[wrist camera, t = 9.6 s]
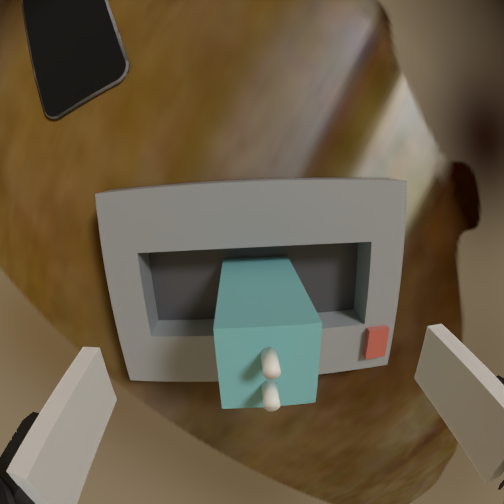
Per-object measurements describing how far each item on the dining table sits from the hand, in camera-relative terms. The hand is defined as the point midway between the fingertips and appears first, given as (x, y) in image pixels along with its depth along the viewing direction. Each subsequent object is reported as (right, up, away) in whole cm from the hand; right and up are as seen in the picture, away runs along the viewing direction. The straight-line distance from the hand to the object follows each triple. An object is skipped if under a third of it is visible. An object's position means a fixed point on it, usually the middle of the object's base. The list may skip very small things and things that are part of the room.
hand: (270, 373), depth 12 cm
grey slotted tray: (0, +3, +12) cm, 12 cm away
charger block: (0, +2, +12) cm, 12 cm away
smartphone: (-15, +22, +6) cm, 28 cm away
